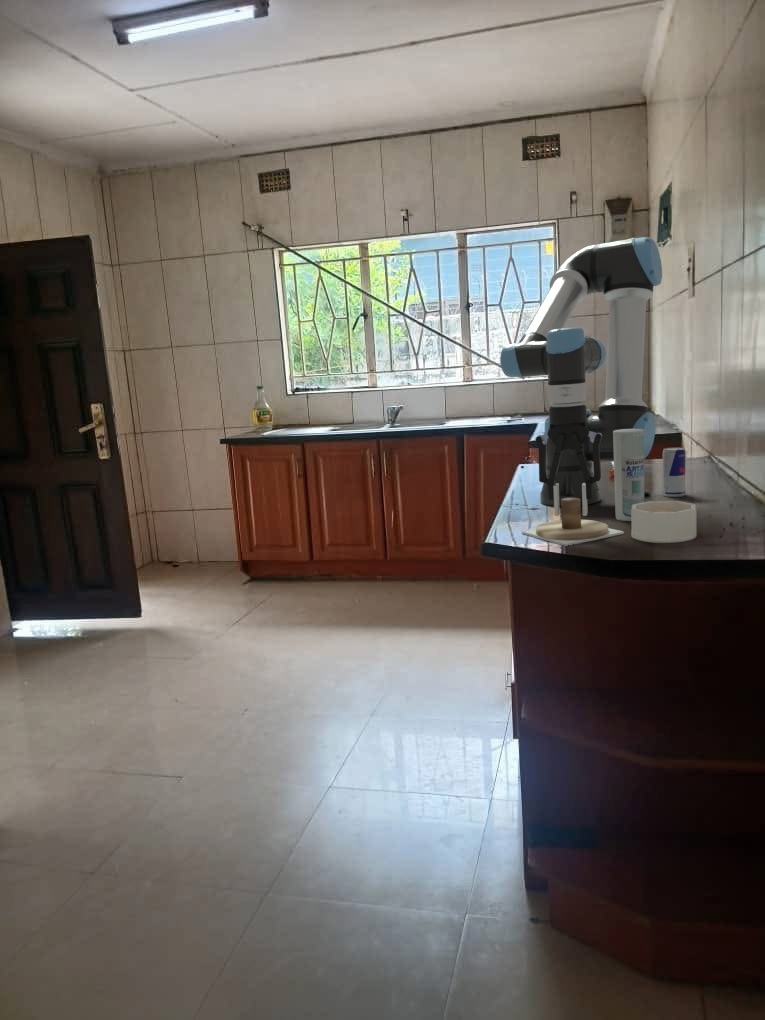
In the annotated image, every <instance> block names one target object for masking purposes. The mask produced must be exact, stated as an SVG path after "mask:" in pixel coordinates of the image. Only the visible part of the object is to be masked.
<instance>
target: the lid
mask: <svg viewBox="0 0 765 1020" xmlns="http://www.w3.org/2000/svg"><path fill="white" fill-rule="evenodd" d="M581 506H582V505H581V504H580V499H579V498H564V499H561V506H560V509H561V520H560V519H559V520H553V521H548V522H542V523H541V524H540V523H539V524H538V525H537V526H535V529H536V534H537V535H538V536H540V537H543V538H548V539H556V540H582V539H590V538H596V537H600V536H603V535H605V534H607V533H608V528H609V526H608V524H607V523H605V522H602V521H599V520H598V521H597V520H593V519H592V520H591V519H582V513H581V512H582V510H581V509H582V508H581Z"/></svg>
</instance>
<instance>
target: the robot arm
mask: <svg viewBox="0 0 765 1020" xmlns="http://www.w3.org/2000/svg"><path fill="white" fill-rule="evenodd" d="M662 266H663V265H662V260H661V254H660V251H659V249H658V245H657V243H656V242H655V241H654V239H653V238H651V237H649V236H644V237H643V236H642V237H631V238H627V239H621V240H616V241H610V242H603V243H596V244H595V243H594V244H590V245H587V246H585V247H583V248H582V249H580V250H578V251H576V252H575V253H574V254H572V255H571V256H569V257H568V258H567V259H566V260H565V261H564V262H562V263H561V264H560V265H559V266H558V268H557V269H556V270H555V271H554V273H553V275H552V277H551V278H550V281H549V290H548V291H547V293H546V295H545V297H544V298H543V300H542V302H541V304H540V305H539V308H538V309H537V311H536V312H535V314H534V316H533V318H532V319H531V320H530V323H529V324H528V325H527V328H526V329H525V331H524V333H523V335H522V337H521V338H520V340H519V342H518V343H515V342H513V343H511V344H506V345H505V346H503V348H502V350H501V352H500V357H499V362H500V363H499V364H500V367H501V369H502V373H503V374H504V375H505V376H506V377H508V378H523V379H524V378H527V377H541V376H542V377H543V376H547V385H548V388H547V389H548V404H549V405H551V406H550V407H549V408H548V415H549V416H548V417H546V418H545V421H544V432H543V434H542V435H541V434H539V435H537V436H536V437H535V442H536V445H537V447H538V448H537V449H538V480H539V482H540V483H542V487H541V491H540V493H539V496H540V497H539V498H540V503H541V504H543V505H547V506H553V509H554V511H553V512H554V517H559V515H560V509H561V499H564V498H579V499H580V504H581V506H582V516H583V517H585V516H587V515H588V513H589V512H588V511H589V510H588V505H591V504H595V503H599V501H600V500H601V492H600V491H601V490H600V489H599V486H598V483H597V482H599V481H600V480H601V478H602V470H601V469H602V467H601V466H602V465H601V462H614V446H613V431H615V430H621V429H643V430H644V459H646V457H648V456H649V454H650V453H651V451H652V450H651V449H652V447H653V445H654V440H655V436H656V435H655V434H656V417H655V415H654V414H653V413H651V412H649V410H648V409H649V406H648V405H647V404H646V403H645V402H644V401H643V397H642V396H643V379H644V377H643V375H644V374H643V373H644V356H645V355H644V353H645V334H646V332H645V331H646V312H647V311H646V310H647V309H646V307H647V301H648V300H649V299H650V298H651V297H652V296H653V294H654V287H658V286H659V285H661V284H662V280H663V267H662ZM596 293H602V294H603V296H602V297H603V298H604V300H605V301H606V302H608V305H609V307H608V309H609V310H608V326H607V327H608V328H607V329H608V330H607V350H606V348H605V345H604V344H603V343H602V341H600V339H597V338H595V337H591V336H585V331H584V329H583V328H582V327H566V328H565V326H566V325H567V323H568V322H569V319H570V317H571V315H572V314H573V312H574V310H575V308H576V306H577V304H579V303H581V302H582V301H583V300H584V299H585V298H586V296H588V295H591V294H596ZM606 351H607V352H606ZM605 360H606V372H605V373H606V374H605V375H606V377H605V398H604V399H605V400H603V401H602V402H601V403H600V404H599V406H598V412H597V414H592V413H593V412H592V411H591V409H590V408H587V406H586V405H585V404H584V403H586V401H587V384H586V383H587V382H586V373H587V374H590V373H592V372H595V371H597V370H599V369H600V368H601V367H602V365H604V363H605Z"/></svg>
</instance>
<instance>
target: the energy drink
mask: <svg viewBox="0 0 765 1020" xmlns="http://www.w3.org/2000/svg"><path fill="white" fill-rule="evenodd" d="M686 491H687V490H686V450H685V448H684V447H666V448H663V451H662V495H663V496H664V497H668V498H680V497H681V498H683V497H684V496H685V495H686Z"/></svg>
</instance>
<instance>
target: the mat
mask: <svg viewBox="0 0 765 1020" xmlns="http://www.w3.org/2000/svg"><path fill="white" fill-rule="evenodd" d="M624 533H625V531H622V530H619V529H613V528H610V527H608V533H607V534H605V535H603V536H600V537H596V538H590V539H582V540H556V539H548V538H543V537H540V536H538V535H537V534H536V528H533V529H528V530H523V531H521V534H522V535H524V536H525V535H526V536H530V537H532V538H537V539H539V540H542V541H546V542H550V543H554V544H557V545H561V546H564V547H568V545H569V546H573V544H574V545H578V544H582V543H587V542H592V541H596V540H600V539H606V538H610V537H615V536H620V535H624Z"/></svg>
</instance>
